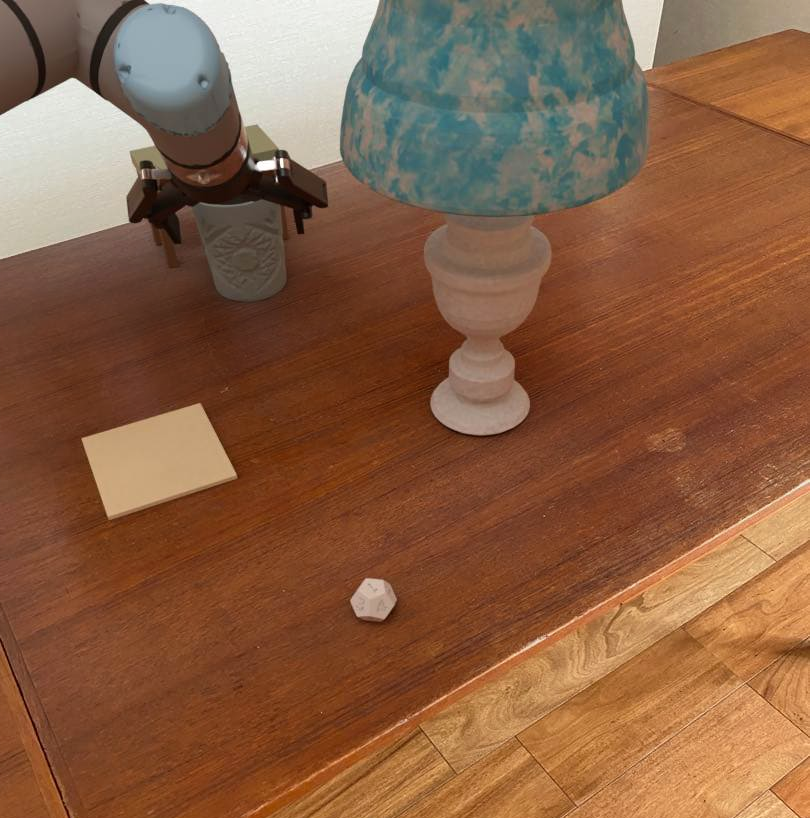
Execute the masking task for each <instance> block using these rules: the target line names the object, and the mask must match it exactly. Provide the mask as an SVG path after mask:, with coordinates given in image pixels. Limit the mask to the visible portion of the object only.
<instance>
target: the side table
mask: <svg viewBox="0 0 810 818" xmlns="http://www.w3.org/2000/svg"><path fill="white" fill-rule="evenodd" d="M245 130H246V134H247V137H248V141H249V144H250V147H251V151H252V154H253V155H254V156H255V157H257V158H258V159H259V160H260V161H267V160H272V157H275V151H277V150H280V148H279V147H278V146H277V144H276V143H275V142H273V140H272V139H271V138H270V137H269V136H268V134H267V133H266V132H265V131H264V130H263V129H262V128H261V127H260V126H259V125H258V124H252V125H251V124H250V125H247V126H245ZM129 155H130V159H131V163H132V165H133V167H134V168H135V171H136V175H137V177H138V176H139V174H140V164H139V163H140V161H144V160H149V161H151V162H153V165H154V166H158V167H160V169H168V168H167V166H166V164H165V162H164V161H163V159H162V157H161V155H160V153H159V151H158V150H157V148H156V147H155V145H151V146H146V147H143V148H138V149H133V150H129ZM280 207H281V216H282V228H283V236H282V239H283V241H285V240H288V239H289V230H288V224H287V216H286V215H287V214H286V209H285V208H286V207H285V206H282V205H280ZM149 225H150V230H151V234H152V237H153V242H154V243H155V245H156V246H160V245H162V249H163V252H164V256H165V260H166V264H167V266H168V268H169V269H173V268H177V267H180V264H179V259H178V256H177V251H176V247H175V244H174V243H173V241H172V240H171V238H170V237H169V235H168V234H167V232H166V231H165V229H157V228H155V227H154V225H153V224H152V223H149ZM159 244H160V245H159Z"/></svg>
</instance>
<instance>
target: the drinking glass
mask: <svg viewBox="0 0 810 818" xmlns="http://www.w3.org/2000/svg"><path fill="white" fill-rule="evenodd" d="M250 190H251V189H250ZM191 210H192V213H193V217H194V219H195V222H196V226H197V230H198V233H199V236H200V240H201V242H202V245H203V247H204V252H205V256H206V259H207V262H208V266H209V269H210V273H211V275H212V279H213V283H214V286H215V291H216V292H218V294H219V295H220V296H221V297H223V298H226V299H227V300H230V301H235V302H244V303H246V302H247V303H250V302H258V301H262V300H266V299H269V298H271V297H273V296H275V295H277V294H278V293H280V292H281V291H282V290H283V289H284V287H285V286H286V283H287V278H288V277H287V267H286V253H285V252H286V251H285V241H284V240H283V239H282V236H283V228H282V216H281V207H280V205H279V204H275V203H272V202H269V201H265V200H262V199H261V200H259V201H256V202H252V201H249V200H246V199H242V198H239V197H238V198H236V199H234V198H233V199H232V200H230V201H227V202H224V203H220V204H206V203H201V202H200V203H198V204H197V205H195V206H194V207H191Z"/></svg>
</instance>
